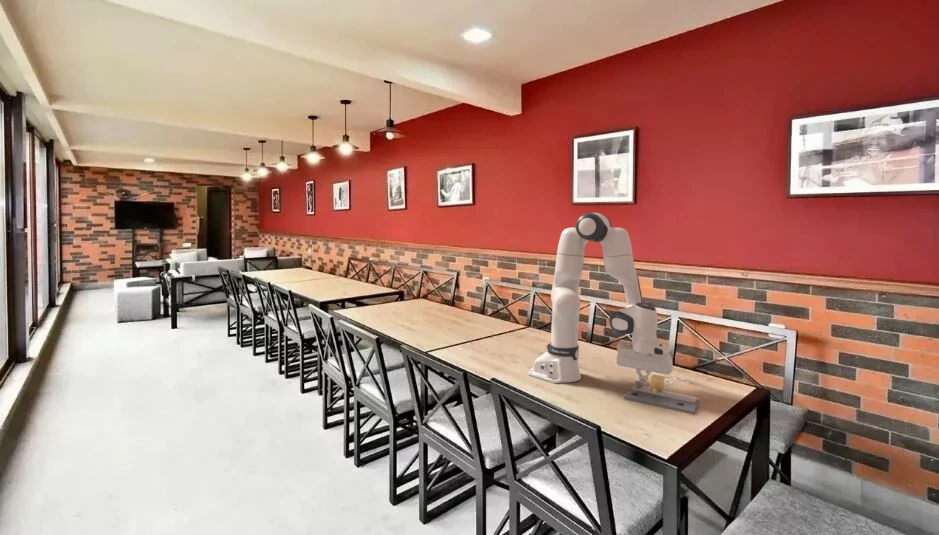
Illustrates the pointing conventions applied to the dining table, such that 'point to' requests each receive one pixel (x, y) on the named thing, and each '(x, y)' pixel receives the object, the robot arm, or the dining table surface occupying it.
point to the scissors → (669, 377)
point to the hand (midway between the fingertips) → (643, 380)
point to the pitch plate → (662, 398)
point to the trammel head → (657, 383)
